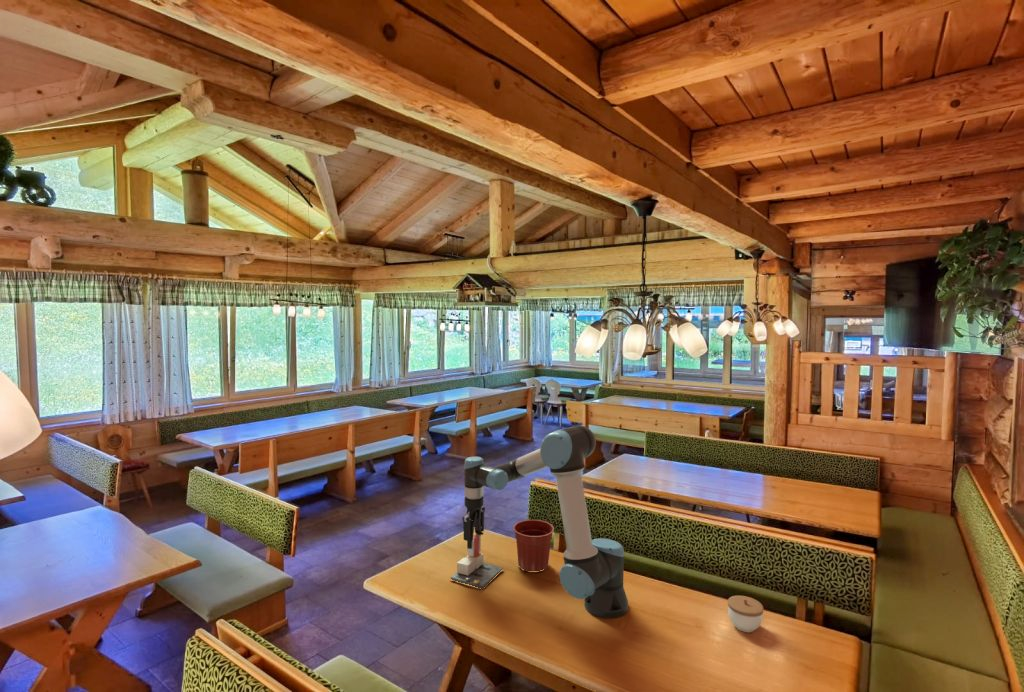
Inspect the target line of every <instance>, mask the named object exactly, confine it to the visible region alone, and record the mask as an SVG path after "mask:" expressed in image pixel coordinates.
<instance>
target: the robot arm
mask: <svg viewBox="0 0 1024 692" xmlns="http://www.w3.org/2000/svg"><path fill="white" fill-rule="evenodd" d="M596 444H597V440H596V435H594V433H593V431H592V430H591V429H590V428H589V427H587V426H585V425H579V424H578V425H573V426H570V427H566V428H562V429H557V430H554V431H553V432H550V433H548V434H546V435H545V437H544V438H543V439H542V441H541V444H540V448H538V449H536V450H534V451H531V452H529V453H527V454H524V455H522V456H520V457H517V458H516V459H513V460H511V461H508V462H504V463H501V464H498V465H495V466H489V465H485V463H484V459H483V457H481V456H469V457H466V459H465V460H464V469H463V470H464V472H463V473H464V476H463V477H464V507H465V508H466V515H465V516H462V522H463V523H462V524H463V525H462V526H463V531H462V532H463V541H466V543H467V544H466V547H467V548H466V549H467V552H466V553H467V555H468V556H472V557H474V540H473V535H477V536H479V553H481V551H482V548H481V545H482V543H481V541H482V539H481V538H482V536H483V535H484V531H485V511H486V510H485V509H486V507H485V506H484V487H486V488H489V489H491V490H497V491H502V490H505V487H506V486H508V483H512V482H513V481H514V482H515V481H517V480H520V479H522V478H524V477H527V476H529V475H531V474H534V473H536V472H539V471H542V470H543V469H547V468H549V471H550V473H551V474H552V475H553V476H554V477H555V482H556V486H557V487H556V489H557V494H558V501H559V506H560V507H559V508H560V513H561V519H562V526H563V532H564V538H565V545H566V549H565V550H564V552H563V554H562V555H563V563H564V565H562V566H561V568H560V569H559V576H558V577H559V580H560V584H561V586H562V587H563V589H564V591H566V592H567V593H568V594H569V595H570V596H571V597H573V598H575V599H578V600H584V601H583V602H584V603H583V604H584V608H585V609H586V610H587V612H588V613H590V614H592V615H594V616H596V617H598V618H603V619H616V618H621V617H623V616H624V615H626V614H627V613H628V610H629V600H628V597H627V595H626V590H625V588H624V573H625V572H624V571H625V570H624V567H625V565H624V564H625V551H624V546H623V545H622V544H621V543H619V542H618V541H616V540H613V539H609V538H603V537H602V538H594V539H592V534H591V528H590V526H591V525H590V522H589V516H588V514H589V513H588V508H587V503H586V497H585V490H584V484H583V477H582V474H583V471H584V469H585V462H584V459H587V458H588V457H590V456H591V455H592V454H593V453H594V451H595V449H596ZM467 555H466V556H467Z"/></svg>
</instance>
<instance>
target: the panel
mask: <svg viewBox="0 0 1024 692" xmlns="http://www.w3.org/2000/svg"><path fill="white" fill-rule="evenodd" d="M502 569H503V570H504V567H503V566H498V565H496V564H492V563H488V562H484V561H483V564H482V565H481V566H480V567H479V568H477V569H475V570H474V571H473V572H472V573H470V574H469V575H464V574H461V573H457V572H455V573H454V574H453V575H451V576H450V580H451V579H452V580H455V581H458V582H461V583H465V584H469V585H472V586H475V587H478V588H481V589H482V588H484V587H485V586H486V585H487V584H488V583H489V582H490V581H491V580H492V579H493V578H494V577H495V576H496V575H497V574H498V573H499V572H500V571H501V570H502ZM491 582H492V581H491ZM491 582H490V583H491ZM490 583H489V584H490ZM489 584H488V585H489ZM488 585H487V586H488ZM487 586H486V587H487ZM486 587H485V588H486ZM485 588H484V589H485Z"/></svg>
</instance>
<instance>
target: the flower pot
mask: <svg viewBox="0 0 1024 692" xmlns="http://www.w3.org/2000/svg"><path fill="white" fill-rule="evenodd" d="M512 529H513V531H514V536H515V539H516V552H517V563H518V565H519V566H520V567H521V568H522V569H524V570H525V571H526V570H527V571H526V572H528V571H540V570H543V569H545V568H546V567H549V560H550V552H551V551H550V550H551V543H552V539H553V533H554V531H555V527H554V525H553V524H551V523H549V522H548V521H545V520H541V519H526V520H521V521H519V522H516V523H515V524H514V525H513V527H512ZM519 566H518V567H519ZM546 569H547V568H546ZM546 569H545V570H546Z"/></svg>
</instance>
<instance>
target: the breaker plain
mask: <svg viewBox="0 0 1024 692" xmlns="http://www.w3.org/2000/svg"><path fill="white" fill-rule="evenodd" d="M474 570H475V560H473V559H469V558H466V556H464V557H462V558H461V559H460V560H459V561H457V562H456V573H461V574H464V575H469V574H470V573H472V572H473V571H474Z"/></svg>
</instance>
